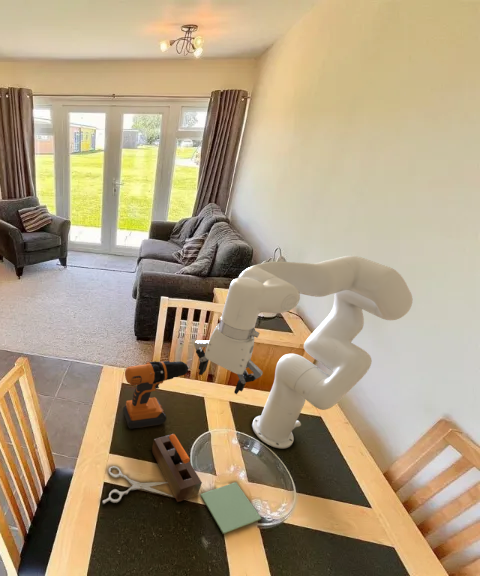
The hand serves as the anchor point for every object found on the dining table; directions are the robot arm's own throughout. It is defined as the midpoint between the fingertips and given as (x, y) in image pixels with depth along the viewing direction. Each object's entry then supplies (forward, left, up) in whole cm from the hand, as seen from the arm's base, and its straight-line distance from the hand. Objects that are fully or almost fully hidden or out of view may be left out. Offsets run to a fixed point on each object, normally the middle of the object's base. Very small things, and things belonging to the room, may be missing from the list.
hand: (219, 381), depth 84 cm
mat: (-1, +15, -32) cm, 35 cm away
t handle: (+9, +2, -32) cm, 34 cm away
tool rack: (+9, +2, -32) cm, 34 cm away
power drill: (+7, -18, -32) cm, 38 cm away
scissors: (+21, +3, -32) cm, 39 cm away
